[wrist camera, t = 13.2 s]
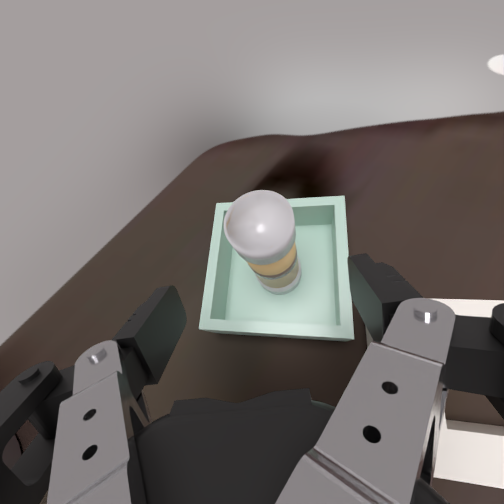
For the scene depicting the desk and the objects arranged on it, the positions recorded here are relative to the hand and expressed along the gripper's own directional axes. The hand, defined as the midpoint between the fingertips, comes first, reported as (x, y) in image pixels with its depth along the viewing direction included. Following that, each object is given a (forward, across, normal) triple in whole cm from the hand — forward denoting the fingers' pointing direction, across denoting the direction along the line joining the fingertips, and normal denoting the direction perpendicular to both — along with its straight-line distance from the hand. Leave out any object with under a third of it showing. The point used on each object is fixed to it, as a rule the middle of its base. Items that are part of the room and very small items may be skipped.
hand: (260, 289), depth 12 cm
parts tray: (+11, 0, +5) cm, 12 cm away
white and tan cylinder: (+10, 0, +5) cm, 11 cm away
